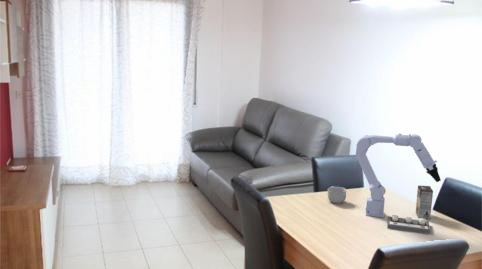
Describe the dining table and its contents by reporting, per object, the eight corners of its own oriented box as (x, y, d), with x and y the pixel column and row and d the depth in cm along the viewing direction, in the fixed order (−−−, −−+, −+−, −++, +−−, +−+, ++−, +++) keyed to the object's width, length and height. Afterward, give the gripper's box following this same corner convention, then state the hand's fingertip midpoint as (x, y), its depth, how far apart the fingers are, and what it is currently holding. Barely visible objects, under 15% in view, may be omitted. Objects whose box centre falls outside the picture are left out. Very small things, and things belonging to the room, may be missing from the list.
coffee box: (415, 212, 242) (417, 184, 239) (427, 213, 241) (429, 185, 238) (418, 218, 233) (420, 190, 230) (430, 219, 232) (433, 190, 229)
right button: (418, 224, 220) (419, 220, 219) (418, 222, 222) (419, 217, 222) (425, 225, 219) (425, 220, 218) (424, 223, 222) (425, 218, 221)
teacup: (347, 205, 252) (348, 192, 251) (328, 205, 253) (329, 191, 251) (342, 197, 266) (342, 184, 265) (324, 197, 266) (325, 184, 265)
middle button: (405, 222, 222) (405, 218, 221) (405, 220, 225) (405, 216, 224) (411, 223, 221) (411, 219, 220) (411, 221, 224) (411, 217, 223)
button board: (387, 228, 220) (387, 223, 219) (387, 219, 231) (388, 215, 231) (429, 234, 213) (430, 229, 213) (428, 225, 224) (428, 220, 224)
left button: (391, 221, 224) (392, 216, 223) (391, 219, 227) (392, 214, 226) (398, 221, 223) (398, 217, 222) (398, 219, 226) (398, 215, 225)
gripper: (432, 154, 214) (447, 178, 213) (430, 151, 228) (444, 173, 226) (419, 161, 216) (433, 185, 215) (418, 157, 230) (431, 179, 229)
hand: (438, 179), depth 221 cm, fingers open, 7 cm apart
